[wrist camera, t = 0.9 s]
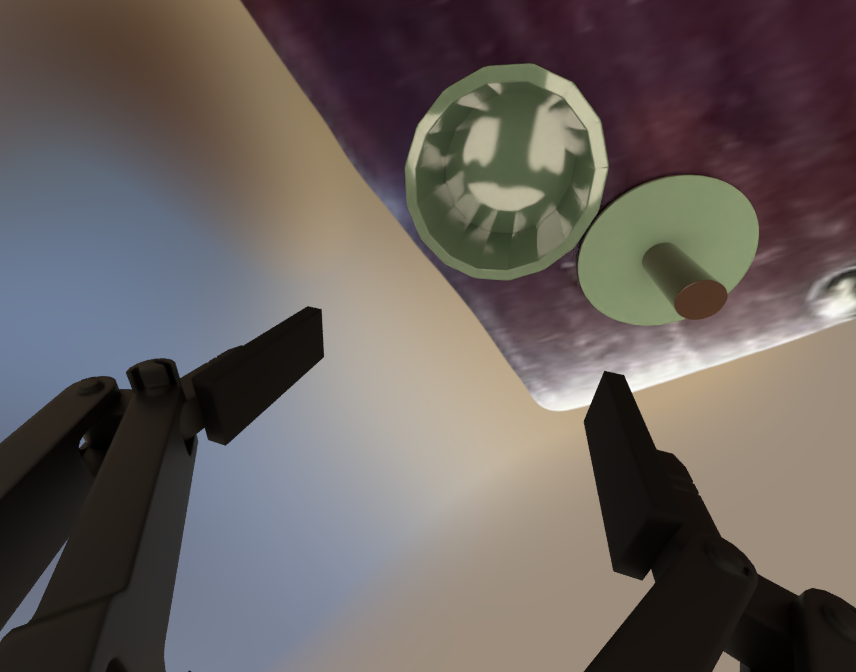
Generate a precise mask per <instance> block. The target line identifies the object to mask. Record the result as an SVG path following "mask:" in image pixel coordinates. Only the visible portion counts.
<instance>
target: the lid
mask: <svg viewBox="0 0 856 672" xmlns="http://www.w3.org/2000/svg"><path fill="white" fill-rule="evenodd" d="M758 239H759V226H758V220H757V216H756V213H755V211H754V209H753V207H752V205H751V203H750V202H749V201H748V199H747V198H746V197H745V196H744V195H743V194H742V193H741V192H740V191H739V190H738V189H736V188H735V187H733V186H731V185H730V184H728V183H726V182H724V181H721V180H718V179H716V178H712V177H708V176H703V175H693V174H682V175H672V176H666V177H661V178H658V179H654V180H651V181H648V182H646V183H643V184H641V185H639V186H636V187H635V188H633V189H631V190H629V191H627V192H625V193H624V194H623V195H621V196H620V197H618V198H617V199H615V200H614V201H613V202H612V203H611V204H609V205H608V206H607V207H606V208H605V209H604V210H603V211H602V212H601V213H600V214H599V215H598V216H597V218H596V219H595V220H594V222H593V223H592V224H591V226H590V228H589V229H588V231H587V233H586V234H585V237H584V239H583V241H582V243H581V247H580V250H579V255H578V262H577V271H578V277H579V281H580V284H581V288H582V290H583V292H584V294H585V296H586V297H587V299H588V300H589V301H590V303H591V304H592V305H593V306H594V307H595V308H596V309H597V310H599V311H600V312H601V313H603V314H605V315H606V316H608V317H610V318H612V319H615V320H617V321H620V322H624V323H628V324H634V325H661V324H668V323H672V322H676V321H680V320H683V319H691V320H699V319H704V318H707V317H710V316H712V315H714V314H715V313H717V312H718V311H719V310H721V308H722V307H723V306H724V305H725V303H726V301H727V294H728V293H729V292H730V291H731V290H732V289H733V288H734V287H735V286H736V285H737V284H738V283H739V282H740V280H741V279H742V278H743V276H744V275H745V274H746V272H747V270H748V269H749V267H750V265H751V263H752V261H753V258H754V256H755V254H756V250H757V246H758Z"/></svg>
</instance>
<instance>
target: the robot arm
mask: <svg viewBox="0 0 856 672" xmlns="http://www.w3.org/2000/svg"><path fill="white" fill-rule="evenodd" d="M323 357H324V348H323V330H322V310H321V309H318V308H313V307H309V306H308V307H306V308H304V309H302V310H301V311H299V312H297V313H296V314H294V315H293V316H291V317H289V318H288V319H286V320H284V321H283V322H281V323H280V324H278V325H276V326H275V327H273V328H271V329H270V330H268V331H267V332H265V333H263V334H262V335H260V336H258V337H257V338H255V339H254V340H252V341H250V342H249V343H247V344H245V345H244V346H242V345H241V346H238V347H235V348H232V349H229V350H227V351H225V352H224V353H222V354H221V355H218V356H217V358H213V359H212V360H210V361H209V362H208V363H205V364H204V365H202V366H200V367H198V368H197V369H195V370H193V371H192V372H190V373H188V374H187V375H185V376H183V377H182V378H180V377H179V374H178V370H177V367H176V364H175V362H174V361H173V360H170V359H165V358H164V359H163V358H160V359H151V360H147V361H143V362H140V363H138V364H136V365H134V366H132V367H130V368H129V369H128V370H127V372H126V374H127V377H128V379H129V381H130V384H131V387H132V390H131V389H119V388H118V385H117V383H116V380H115V379H114V378H112V377H108V376H99V377H91V378H86V379H83V380H81V381H79V382H76V383H74V384H72V385H71V386H69V387H67V388H66V389H65V390H64V391H62V392H61V393H60V394H59V395H58V396H56V397H55V398H54V399H53V400H52V401H50V402H49V403H48V404H47V405H46V406H44V407H43V408H42V409H41V410H40V411H38V412H37V413H36V414H35V415H34V416H32V417H31V418H30V419H29V420H28V421H27V422H25V423H24V424H23V425H22V426H20V427H19V428H18V429H17V430H16V431H14V432H13V433H12V434H11V435H10V436H9V437H7V438H6V439H5V440H4V441H3V442H1V443H0V631H1V630H2V628H3V627H4V625H5V624H6V623H7V621H8V620H9V619H10V617H11V616H12V614H13V613H14V612H15V610H16V608H18V606H19V605H20V604H21V602H22V601H23V599H24V598H25V597H26V595H27V594H28V592H29V591H30V590H31V588H32V587H33V586H34V584H35V583H36V582H37V580H38V579H39V577H40V576H41V575H42V573H43V572H44V571H45V569H46V568H47V567H48V565H49V564H50V563H51V561H52V560H53V558H54V557H55V556H56V554H57V553H58V552H59V550H60V549H61V547H62V546H63V545H64V543H65V542H66V541H67V539H68V538H69V539H68V541H67V543H66V546H65V548H64V550H63V552H62V554H61V557H60V559H59V561H58V564H57V566H56V568H55V570H54V573H53V575H52V577H51V579H50V581H49V584H48V586H47V588H46V590H45V593H44V595H43V597H42V600H41V601H40V604H39V606H38V608H37V611H36V612H35V614H34V616H33V617H32V619H31V620H30V621H29V622H28V623H27V624H25V625H22V626H19V627H16V628H14V629H12V630H11V631H10V632H9V633H8V634H7V635H6V636H4V637H3V639H2V640H1V642H0V672H166V671H165V662H164V647H165V640H166V633H167V627H168V621H169V615H170V609H171V603H172V597H173V591H174V585H175V579H176V573H177V567H178V561H179V555H180V549H181V542H182V536H183V530H184V524H185V518H186V512H187V506H188V500H189V493H190V488H191V482H192V476H193V470H194V463H195V457H196V451H197V445H198V438H197V435H196V434H197V433H198V432H200V431H201V430H202V429H203V428H205V430H206V434H207V438H208V440H210V441H213V442H216V443H219V444H222V445H227V444H228V443H229V442H230V441H231V440H233V439H234V438H235V437H236V436H237V435H238V434H239V433H240V432H241V431H242V430H244V429H245V428H246V427H247V426H248V425H249V424H250V423H251V422H253V420H255V419H256V418H257V417H258V416H259V415H260V414H261V413H262V412H264V411H265V410H266V409H267V408H268V407H269V406H270V405H271V404H272V403H274V402H275V401H276V400H277V399H278V398H279V397H280V396H281V395H282V394H283V393H285V392H286V391H287V390H288V389H289V388H290V387H291V386H292V385H294V384H295V383H296V382H297V381H298V380H299V379H300V378H301V377H302V376H303V375H305V374H306V373H307V372H308V371H309V370H310V369H311V368H312V367H313V366H314V365H316V364H317V363H318V362H319V361H320V360H321V359H322V358H323ZM584 425H585V431H586V436H587V441H588V445H589V451H590V456H591V460H592V466H593V471H594V476H595V481H596V486H597V491H598V496H599V501H600V506H601V511H602V516H603V521H604V527H605V532H606V537H607V542H608V547H609V552H610V556H611V562H612V567H613V571H614V572H617V573H620V574H623V575H626V576H630V577H633V578H636V579H639V580H643V579H644V578H645V576H646V575H647V574H648V572H649V571H650V569H651V570H652V573H653V577H654V580H655V584H654V585H653V587H652V588H651V589H650V590H649V592H648V593H647V594H646V595H645V596H644V598H643V599H642V600H641V601H640V603H639V604H638V605H637V606H636V607H635V609H634V610H633V611H632V612H631V614H630V615H629V616H628V618H627V619H626V620H625V621H624V622H623V624H622V625H621V626H620V627H619V629H618V630H617V631H616V632H615V634H614V635H613V636H612V637H611V639H610V640H609V641H608V642H607V643H606V645H605V646H604V647H603V648H602V650H601V651H600V652H599V653H598V655H597V656H596V657H595V658H594V660H593V661H592V662H591V663H590V665H589V666H588V667H587V668H586V670H585V671H584V672H712V671H713V669H714V667H715V665H716V663H717V662H718V660H719V658H720V656H721V654H722V652H723V651H724V652H726V653H727V654H729V655H730V656H732V657H734V658H735V659H737V660H738V661H740V672H856V608H855V607H853V606H852V605H850V604H849V603H847V602H846V601H844V600H843V599H841V598H840V597H838V596H836V595H833V594H831V593H829V592H827V591H825V590H820V589H815V588H811V589H808V590H806V591H804V592H803V593H802V594H801V595H799V596H798V595H796V594H794V593H792V592H790V591H788V590H786V589H784V588H783V587H781V586H779V585H777V584H775V583H773V582H771V581H770V580H768V579H766V578H764V577H762V576H761V575H759V574H757V572H756V569H755V567H754V565H753V564H752V563H751V561H750V560H749V559H748V558H747V556H746V555H745V554H744V553H743V552H741V551H740V550H739V549H738V548H737V547H736V546H734V545H733V544H732V543H730V542H728V541H727V540H725V539H724V538H722V537H721V535H720V533H719V531H718V530H717V528H716V526H715V524H714V522H713V520H712V518H711V516H710V514H709V512H708V510H707V508H706V506H705V504H704V502H703V500H702V498H701V496H699V495H698V493H699V492H698V490H697V488H696V486H695V484H693V480H692V478H691V477H690V475H689V473H688V471H687V469H686V467H685V466H684V465H683V464H682V463H681V462H680V461H679V460H678V459H677V458H676V456H675V455H674V454H672V453H668V452H664V451H659V450H657V449H656V447H655V445H654V443H653V440H652V438H651V436H650V433H649V431H648V429H647V427H646V425H645V422H644V420H643V418H642V415H641V413H640V411H639V409H638V406H637V404H636V401H635V399H634V397H633V394H632V392H631V390H630V388H629V385H628V383H627V381H626V378H625V376H624V375H621V374H616V373H612V372H607V371H604V373H603V376H602V378H601V380H600V383H599V385H598V388H597V390H596V393H595V395H594V397H593V400H592V402H591V405H590V407H589V410H588V412H587V414H586V417H585V419H584ZM82 437H83V438H84V440H85V443H84V444H83V445H82V446H81V447H80V448H79V444H80V440H81V439H82ZM188 672H191V671H188Z"/></svg>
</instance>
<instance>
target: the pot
mask: <svg viewBox="0 0 856 672" xmlns="http://www.w3.org/2000/svg"><path fill="white" fill-rule="evenodd" d="M608 166H609V162H608V156H607V151H606V145H605V139H604V133H603V127H602V122H601V119H600V118H599V116H598V115H597V114H596V112H595V111H594V110H593V108H592V107H591V105H590V104H589V103H588V101H587V100H586V99H585V97H584V96H583V94H582V93H581V92H580V90H579V89H578V87H577V86H576V85H575V84H574V83H573V82H572V81H570V80H568V79H565V78H563V77H561V76H559V75H557V74H555V73H553V72H550V71H548V70H546V69H544V68H542V67H540V66H538V65H536V64H533V63H532V64H531V63H523V64H508V65H493V66H486V67H483V68H481V69H479V70H477V71H476V72H474V73H472V74H470V75H469V76H467V77H465V78H463V79H462V80H460V81H458V82H456V83H455V84H453V85H451V86H449V87H448V88H446V89H445V90H444V91H443V92H442V93H441V95H440V96H439V97H438V99H437V100H436V101H435V102H434V104H433V105H432V106H431V108H430V109H429V110H428V112H427V113H426V114H425V116H424V117H423V118H422V120H421V121H420V122H419V123H418V125H417V127H416V130H415V134H414V137H413V140H412V144H411V147H410V150H409V154H408V157H407V160H406V164H405V184H406V202H407V208H408V210H409V212H410V215H411V217H412V219H413V222H414V224H415V226H416V229H417V231H418V233H419V236H420V238H421V239H422V241H423V242H424V243H425V244H426V245H427V246H428V247H429V248H430V249H431V250H432V251H433V252H434V253H435V254H436V255H437V256H438V257H439V259H440V260H441V261H442V262H443V263H445V264H446V265H448V266H450V267H452V268H454V269H457V270H459V271H461V272H463V273H465V274H467V275H469V276H471V277H475V278H481V279H495V280H512V279H515V278H518V277H522V276H525V275H529V274H532V273H535V272H539V271H542V270H544V269H546V268H547V267H548V266H550V265H551V264H552V263H554V262H555V261H557V260H558V259H559V258H561V257H562V256H563V255H565V254H566V253H567V252H569V251H570V250H572V249H573V248H574V247H575V246H576V244H577V243H578V241H579V240H580V239H581V237H582V236H583V234H584V233H585V231H586V230H587V228H588V227H589V225H590V224H591V222H592V221H593V219H594V218H595V216H596V215H597V213H598V211H599V208H600V204H601V200H602V195H603V191H604V187H605V183H606V178H607V174H608V170H609V167H608Z"/></svg>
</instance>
